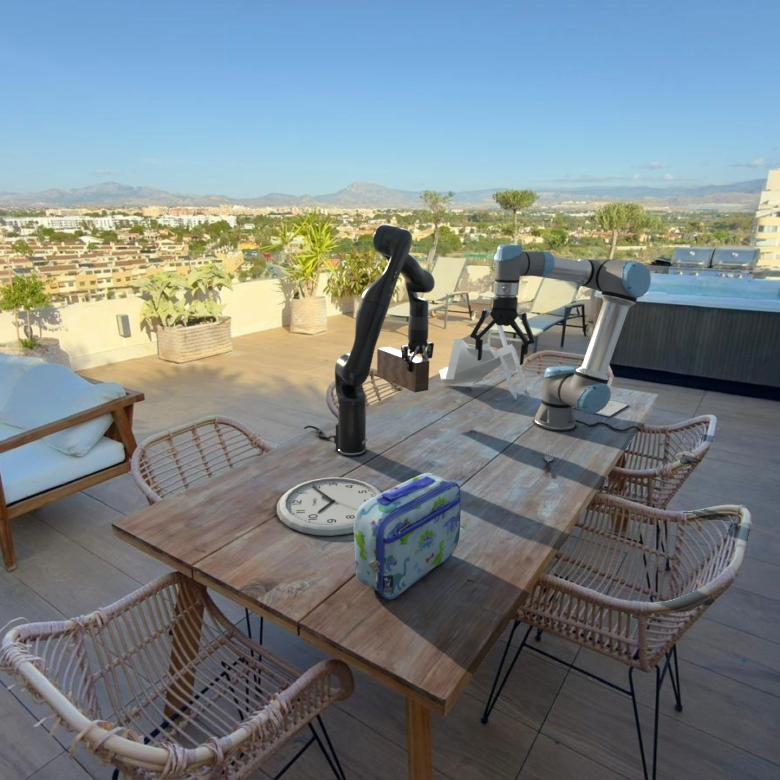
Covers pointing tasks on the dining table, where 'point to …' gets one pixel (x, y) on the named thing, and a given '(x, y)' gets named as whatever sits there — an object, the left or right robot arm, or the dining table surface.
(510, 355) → the white plastic object
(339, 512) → the wall clock
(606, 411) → the invitation card
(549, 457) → the fork
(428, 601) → the dining table surface
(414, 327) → the left robot arm
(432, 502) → the lunch box
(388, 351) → the box
